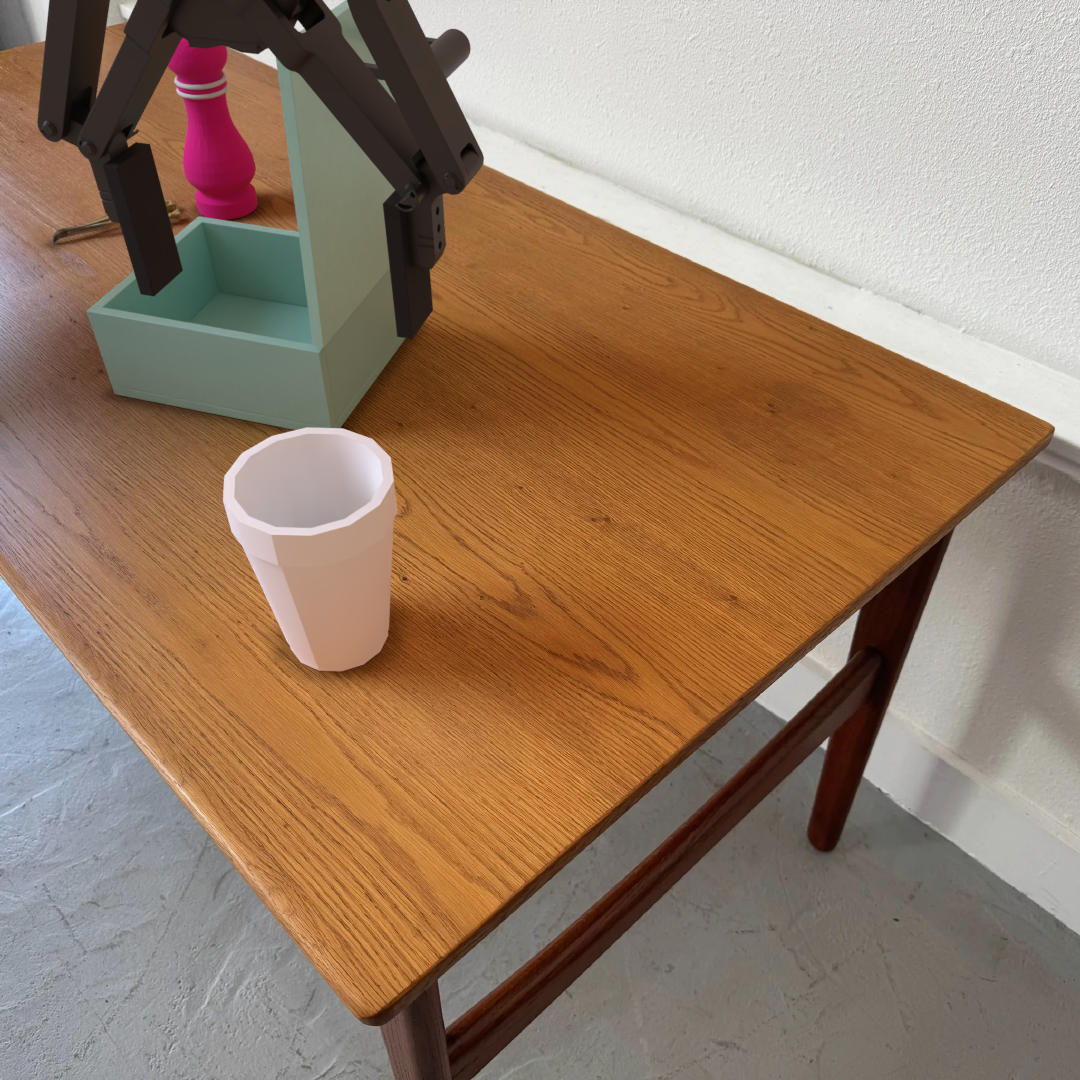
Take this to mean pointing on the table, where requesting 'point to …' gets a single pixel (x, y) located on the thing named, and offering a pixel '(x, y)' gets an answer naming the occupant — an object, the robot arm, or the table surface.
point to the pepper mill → (212, 135)
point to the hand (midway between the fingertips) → (285, 303)
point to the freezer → (242, 333)
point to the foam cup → (319, 539)
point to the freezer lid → (341, 189)
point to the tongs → (105, 224)
